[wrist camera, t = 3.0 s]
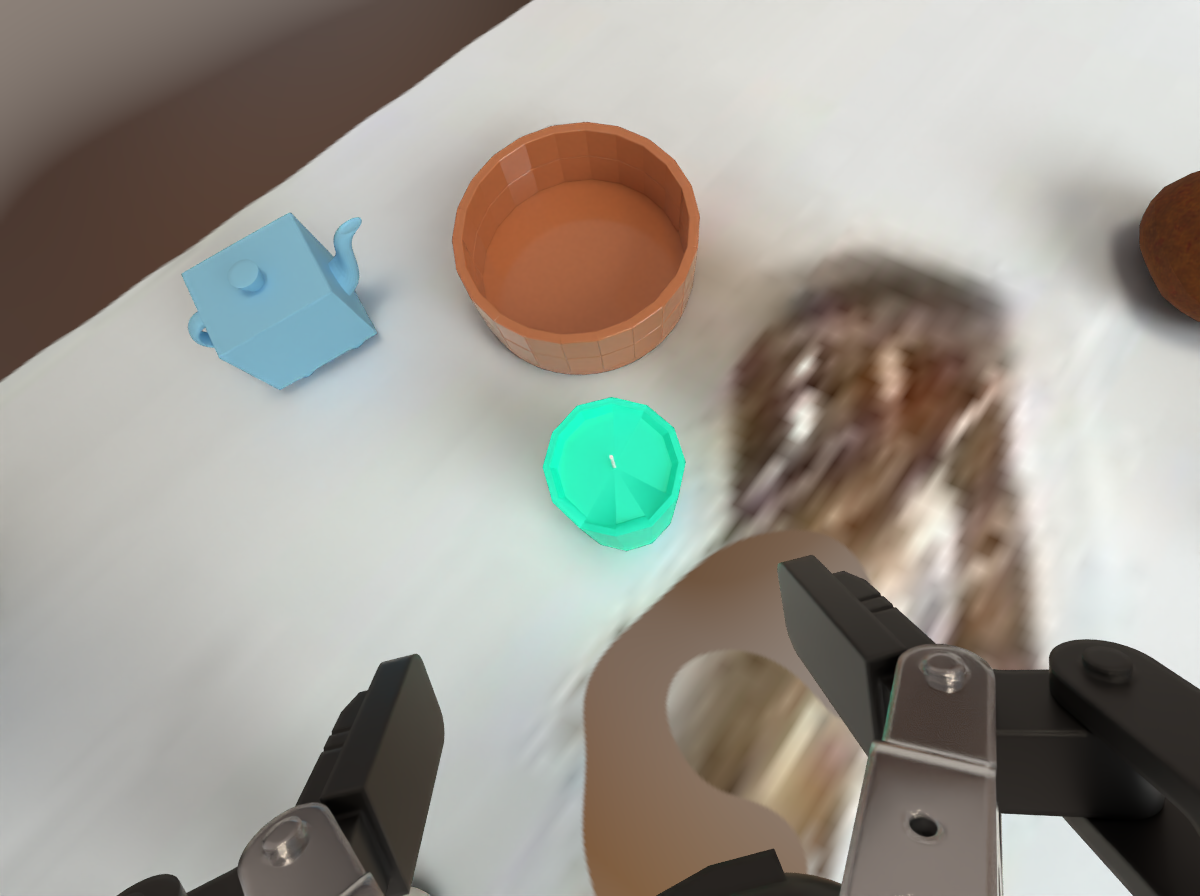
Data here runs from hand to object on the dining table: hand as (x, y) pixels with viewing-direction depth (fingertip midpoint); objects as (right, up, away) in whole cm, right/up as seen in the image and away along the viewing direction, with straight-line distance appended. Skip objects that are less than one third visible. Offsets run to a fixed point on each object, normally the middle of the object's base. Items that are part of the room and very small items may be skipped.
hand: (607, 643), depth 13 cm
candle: (+1, +1, +22) cm, 22 cm away
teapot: (-18, +13, +26) cm, 34 cm away
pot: (-1, +16, +26) cm, 30 cm away
